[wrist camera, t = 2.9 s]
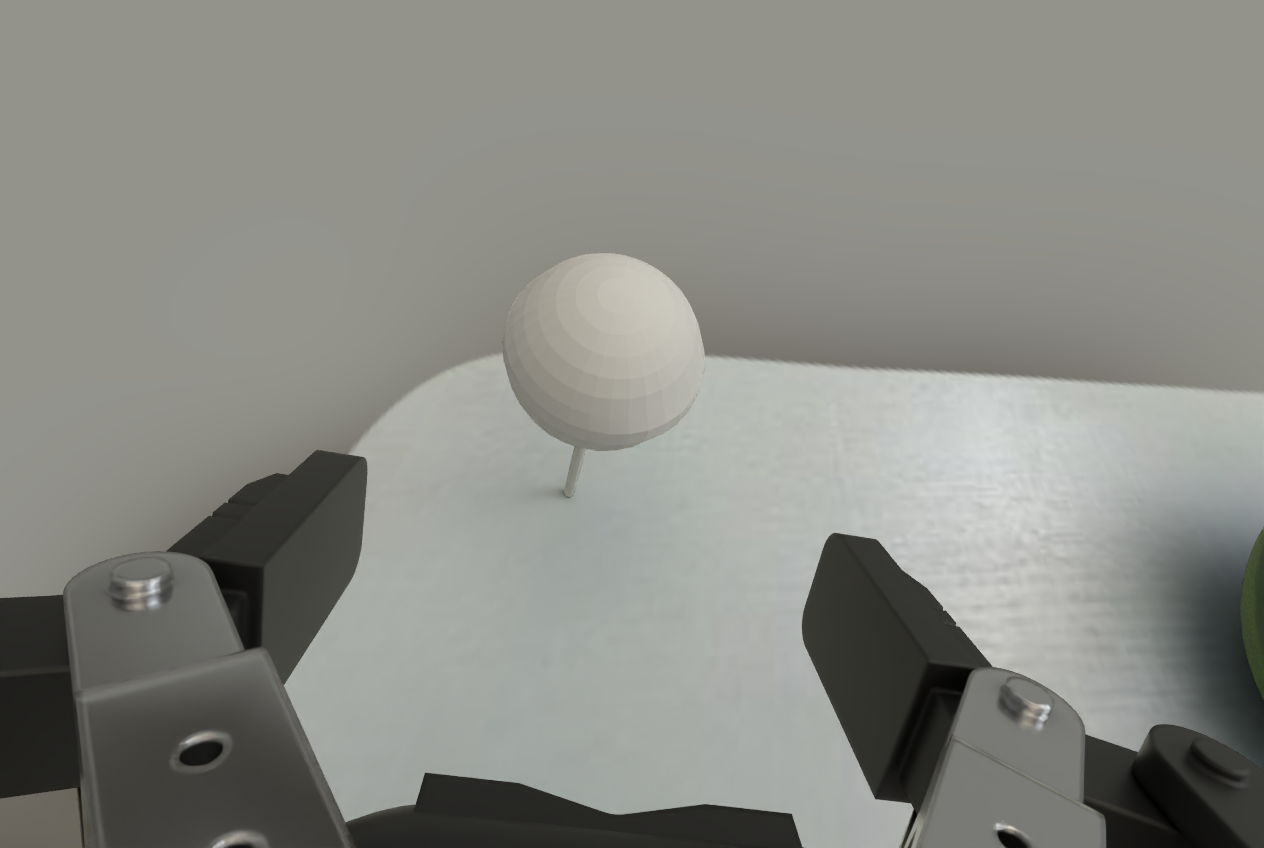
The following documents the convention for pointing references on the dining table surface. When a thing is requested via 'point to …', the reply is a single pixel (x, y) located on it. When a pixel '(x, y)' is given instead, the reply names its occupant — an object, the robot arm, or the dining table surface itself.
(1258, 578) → the decorative sphere
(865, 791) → the dining table surface
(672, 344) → the lollipop
